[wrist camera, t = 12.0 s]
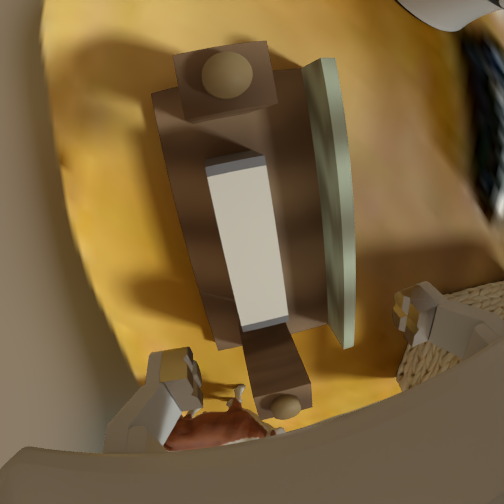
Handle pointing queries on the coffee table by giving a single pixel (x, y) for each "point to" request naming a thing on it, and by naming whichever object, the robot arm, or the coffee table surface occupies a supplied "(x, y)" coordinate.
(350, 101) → the coffee table surface
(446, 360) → the storage basket
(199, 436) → the bull figurine
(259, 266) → the rail bar
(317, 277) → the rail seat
